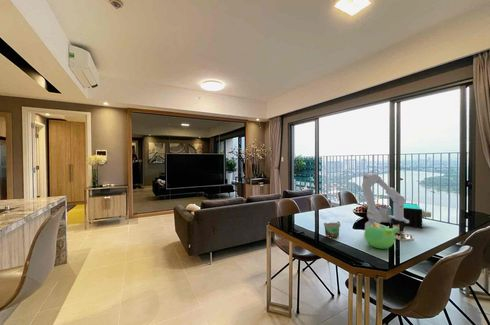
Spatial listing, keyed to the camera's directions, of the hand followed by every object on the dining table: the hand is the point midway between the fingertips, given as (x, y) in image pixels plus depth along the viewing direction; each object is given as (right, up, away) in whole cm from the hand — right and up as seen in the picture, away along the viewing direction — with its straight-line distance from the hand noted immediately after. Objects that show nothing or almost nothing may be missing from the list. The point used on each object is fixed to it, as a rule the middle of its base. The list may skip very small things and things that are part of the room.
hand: (398, 230), depth 157 cm
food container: (-50, -3, -6) cm, 50 cm away
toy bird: (-29, -3, -24) cm, 38 cm away
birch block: (0, -2, 0) cm, 2 cm away
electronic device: (+28, -2, +24) cm, 37 cm away
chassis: (-4, -3, -11) cm, 11 cm away
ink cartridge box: (+9, -2, +30) cm, 32 cm away
